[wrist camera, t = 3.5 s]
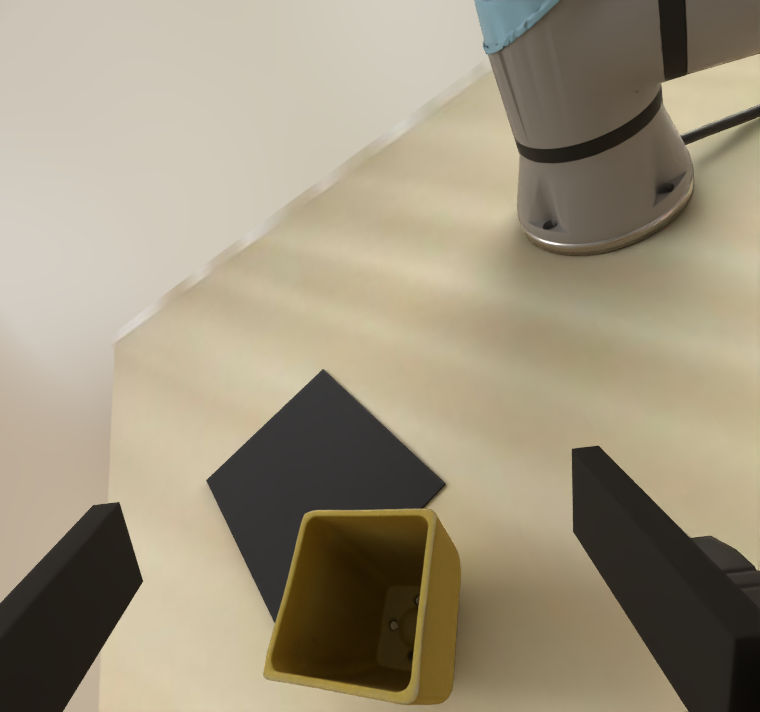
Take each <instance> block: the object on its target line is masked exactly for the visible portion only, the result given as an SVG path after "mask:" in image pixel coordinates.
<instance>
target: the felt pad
mask: <svg viewBox="0 0 760 712" xmlns="http://www.w3.org/2000/svg"><path fill="white" fill-rule="evenodd" d="M206 481H207V483H208V485H209V487H210V489H211V491H212V493H213V495H214V497H215V499H216V501H217V504H218V506H219V508H220V510H221V512H222V514H223V516H224V518H225V520H226V522H227V524H228V527H229V529H230V531H231V533H232V535H233V537H234V539H235V541H236V543H237V545H238V547H239V550H240V552H241V554H242V556H243V558H244V560H245V562H246V564H247V566H248V568H249V570H250V573H251V575H252V577H253V579H254V581H255V583H256V585H257V587H258V589H259V591H260V593H261V596H262V598H263V600H264V602H265V604H266V606H267V608H268V610H269V612H270V614H271V616H272V619H273V621H274V623H275V622H276V619H277V615H278V612H279V609H280V605H281V602H282V598H283V595H284V591H285V587H286V583H287V580H288V575H289V571H290V567H291V563H292V559H293V555H294V551H295V546H296V542H297V537H298V534H299V530H300V526H301V522H302V519H303V517H304V515H305V513H307V512H311V511H315V510H384V509H423V508H424V507H425V506H426V505H427V503H428V502H429V501H430V500H431V499H432V498H433V497H434V496H435V495H436V494H437V493H438V492H439V491H440V490H441V489H442V488H443V487H444V486H445V485H446V484H445V483H444V482H443V481H442V480H441V479H440V478H439V477H438V476H437V475H435V474H434V473H433V472H432V471H431V470H430V469H429V468H428V467H427V466H426V465H425V464H424V463H423V462H422V461H421V460H419V459H418V458H417V457H416V456H415V455H414V454H413V453H412V452H411V451H410V450H409V449H408V448H407V447H406V446H405V445H403V444H402V443H401V442H400V441H399V440H398V439H397V438H396V437H395V436H394V435H393V434H392V433H391V432H390V431H389V430H387V429H386V428H385V427H384V426H383V425H382V424H381V423H380V422H379V421H378V420H377V419H376V418H375V417H374V416H373V415H371V414H370V413H369V412H368V411H367V410H366V409H365V408H364V407H363V406H362V405H361V404H360V403H359V402H358V401H357V400H355V399H354V398H353V397H352V396H351V395H350V394H349V393H348V392H347V391H346V390H345V389H344V388H343V387H342V386H341V385H339V384H338V383H337V382H336V381H335V380H334V379H333V378H332V377H331V376H330V375H329V374H328V373H327V372H326V371H325V370H322V371H321V372H319V373H318V374H317V375H316V376H315V377H314V378H313V379H312V380H311V381H310V382H309V383H308V384H307V385H306V386H305V387H304V388H303V389H302V390H301V391H300V392H298V393H297V394H296V395H295V396H294V397H293V398H292V399H291V400H290V401H289V402H288V403H287V404H286V405H285V406H284V407H283V408H282V409H281V410H280V411H279V412H278V413H276V414H275V415H274V416H273V417H272V418H271V419H270V420H269V421H268V422H267V423H266V424H265V425H264V426H263V427H262V428H261V429H260V430H259V431H258V432H257V433H255V434H254V435H253V436H252V437H251V438H250V439H249V440H248V441H247V442H246V443H245V444H244V445H243V446H242V447H241V448H240V449H239V450H238V451H237V452H236V453H235V454H233V455H232V456H231V457H230V458H229V459H228V460H227V461H226V462H225V463H224V464H223V465H222V466H221V467H220V468H219V469H218V470H217V471H216V472H215V473H214V474H212V475H211V476H210V477H209V478H208V479H207V480H206Z"/></svg>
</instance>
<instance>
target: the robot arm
mask: <svg viewBox="0 0 760 712" xmlns="http://www.w3.org/2000/svg"><path fill="white" fill-rule="evenodd" d="M475 6H476V10H477V14H478V18H479V22H480V26H481V30H482V34H483V38H484V42H483V48H484V50H485V52H486V54H488V56H489V60H490V63H491V66H492V69H493V72H494V75H495V79H496V82H497V85H498V88H499V91H500V94H501V98H502V101H503V104H504V107H505V110H506V113H507V117H508V120H509V123H510V126H511V129H512V132H513V135H514V138H515V141H516V145H517V148H518V152H519V175H518V195H517V210H518V217H519V221H520V224H521V227H522V230H523V232H524V234H525V236H526V237H527V239H528V240H529V241H530V242H531V243H533V244H534V245H535V246H537V247H539V248H541V249H543V250H545V251H548V252H552V253H556V254H562V255H591V254H598V253H604V252H609V251H613V250H616V249H620V248H623V247H626V246H628V245H631V244H634V243H636V242H638V241H641V240H643V239H645V238H647V237H649V236H650V235H652V234H654V233H656V232H657V231H659V230H660V229H662V228H663V227H665V226H666V225H667V224H668V223H670V222H671V221H672V220H673V219H674V218H675V217H676V216H677V215H678V214H679V213H680V212H681V211H682V210H683V208H684V207H685V206H686V204H687V203H688V201H689V199H690V197H691V194H692V191H693V186H694V178H693V165H692V161H691V158H690V154H689V152H688V150H687V148H686V146H685V145H687V144H689V143H692V142H694V141H697V140H699V139H702V138H704V137H707V136H710V135H712V134H715V133H717V132H720V131H723V130H725V129H728V128H731V127H734V126H736V125H739V124H742V123H744V122H747V121H749V120H752V119H755V118H757V117H760V105H757V106H755V107H752V108H750V109H747V110H745V111H742V112H739V113H737V114H734V115H731V116H729V117H726V118H723V119H721V120H718V121H715V122H713V123H710V124H707V125H705V126H702V127H700V128H697V129H695V130H692V131H690V132H687V133H685V134H682V135H679V133H678V131H677V129H676V127H675V126H674V124H673V122H672V120H671V118H670V116H669V115H668V113H667V111H666V109H665V107H664V105H663V98H662V87H661V83H662V82H665V81H668V80H672V79H675V78H678V77H681V76H685V75H687V74H690V73H694V72H697V71H701V70H704V69H708V68H711V67H715V66H718V65H722V64H725V63H728V62H732V61H735V60H739V59H742V58H746V57H749V56H753V55H756V54H759V53H760V0H475ZM572 488H573V532H574V534H575V535H576V537H577V538H578V540H579V541H580V543H581V545H582V546H583V548H584V549H585V551H586V552H587V554H588V556H589V557H590V559H591V560H592V562H593V563H594V565H595V566H596V568H597V570H598V571H599V573H600V574H601V576H602V577H603V579H604V580H605V582H606V584H607V585H608V587H609V588H610V590H611V591H612V593H613V594H614V596H615V598H616V599H617V601H618V602H619V604H620V605H621V607H622V609H623V610H624V612H625V613H626V615H627V616H628V618H629V619H630V621H631V623H632V624H633V626H634V627H635V629H636V630H637V632H638V633H639V635H640V637H641V638H642V640H643V641H644V643H645V644H646V646H647V647H648V649H649V651H650V652H651V654H652V655H653V657H654V658H655V660H656V662H657V663H658V665H659V666H660V668H661V669H662V671H663V672H664V674H665V676H666V677H667V679H668V680H669V682H670V683H671V685H672V686H673V688H674V690H675V691H676V693H677V694H678V696H679V697H680V699H681V701H682V702H683V704H684V705H685V707H686V708H687V710H688V711H689V712H760V571H759V570H756V569H755V566H754V565H753V564H751V563H750V562H749V561H748V560H747V559H746V558H745V557H744V556H743V555H742V554H741V553H739V552H738V551H737V550H736V549H734V548H732V547H731V546H729V545H727V544H725V543H723V542H721V541H720V540H718V539H716V538H714V537H712V536H704V537H696V538H689V537H688V536H687V535H686V533H685V532H684V531H683V530H682V529H681V528H680V527H679V526H678V525H677V524H676V523H675V522H674V521H673V520H672V519H671V518H670V517H669V516H668V515H667V514H666V513H665V512H664V511H663V510H662V509H661V508H660V507H659V506H658V505H657V504H656V503H655V502H654V501H653V500H652V499H651V498H650V497H649V496H648V495H647V494H646V493H645V492H644V491H643V490H642V489H641V488H640V487H639V486H638V485H637V484H636V483H635V482H634V481H633V480H632V479H631V478H630V477H629V476H628V475H627V474H626V473H625V472H624V471H623V470H622V469H621V468H620V467H619V466H618V465H617V464H616V463H615V462H614V461H613V460H612V459H611V458H610V457H609V456H608V455H607V454H606V453H605V452H604V451H603V450H602V449H601V448H600V447H599V446H592V447H583V448H575V449H572ZM142 582H143V580H142V576H141V573H140V570H139V566H138V563H137V560H136V556H135V553H134V550H133V546H132V543H131V540H130V536H129V533H128V530H127V526H126V523H125V520H124V516H123V513H122V510H121V506H120V503H119V502H117V503H108V504H100V505H93V506H92V507H91V508H90V509H89V510H88V511H87V512H86V513H85V514H84V516H83V517H82V518H81V519H80V520H79V521H78V522H77V523H76V524H75V525H74V526H73V527H72V528H71V529H70V530H69V531H68V532H67V533H66V535H65V536H64V537H63V538H62V539H61V540H60V541H59V542H58V543H57V544H56V545H55V546H54V547H53V548H52V549H51V550H50V551H49V553H48V554H47V555H46V556H45V557H44V558H43V559H42V560H41V561H40V562H39V563H38V564H37V565H36V566H35V567H34V568H33V569H32V570H31V571H30V573H29V574H28V575H27V576H26V577H25V578H24V579H23V580H22V581H21V582H20V583H19V584H18V585H17V586H16V587H15V588H14V589H13V590H12V591H11V593H10V594H9V595H8V596H7V597H6V598H5V599H4V600H3V601H2V602H1V603H0V712H63V710H64V709H65V707H66V705H67V704H68V702H69V700H70V699H71V697H72V696H73V694H74V692H75V691H76V689H77V687H78V686H79V684H80V683H81V681H82V679H83V678H84V676H85V675H86V673H87V671H88V670H89V668H90V666H91V665H92V663H93V662H94V660H95V658H96V657H97V655H98V654H99V652H100V650H101V649H102V647H103V645H104V644H105V642H106V641H107V639H108V637H109V636H110V634H111V633H112V631H113V629H114V628H115V626H116V624H117V623H118V621H119V620H120V618H121V616H122V615H123V613H124V611H125V610H126V608H127V607H128V605H129V603H130V602H131V600H132V598H133V597H134V595H135V594H136V592H137V590H138V589H139V587H140V585H141V584H142Z"/></svg>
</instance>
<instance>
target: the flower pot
mask: <svg viewBox="0 0 760 712" xmlns="http://www.w3.org/2000/svg"><path fill="white" fill-rule="evenodd" d="M460 582H461V566H460V559H459V555H458V552H457V550H456V547H455V545H454V543H453V542H452V540H451V538H450V537H449V535H448V533H447V532H446V530H445V528H444V527H443V525H442V523H441V522H440V520H439V518H438V517H437V515H436V513H435V512H434V511H433V510H431V509H384V510H315V511H311V512H307V513H305V515H304V517H303V519H302V522H301V526H300V530H299V534H298V537H297V542H296V546H295V551H294V555H293V559H292V563H291V567H290V571H289V575H288V580H287V583H286V587H285V591H284V595H283V598H282V602H281V605H280V609H279V612H278V615H277V619H276V622H275V626H274V629H273V633H272V637H271V640H270V644H269V647H268V650H267V655H266V660H265V666H264V673H263V676H264V678H266V679H268V680H272V681H278V682H285V683H291V684H296V685H302V686H308V687H314V688H319V689H324V690H329V691H335V692H340V693H345V694H351V695H356V696H361V697H366V698H372V699H377V700H382V701H387V702H392V703H396V704H402V705H432V704H440V703H442V702H444V701H445V700H446V699H447V698H448V697H449V696H450V694H451V691H452V687H453V679H454V663H455V647H456V632H457V617H458V604H459V593H460ZM419 596H420V599H419V605H417V604H416V598H417V597H419ZM393 621H397V623H398V627H397V629H396V630H392V629H391V627H390V625H391V623H392V622H393ZM411 652H414V653H413V662H411V661H410V659H409V655H410V653H411Z"/></svg>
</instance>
